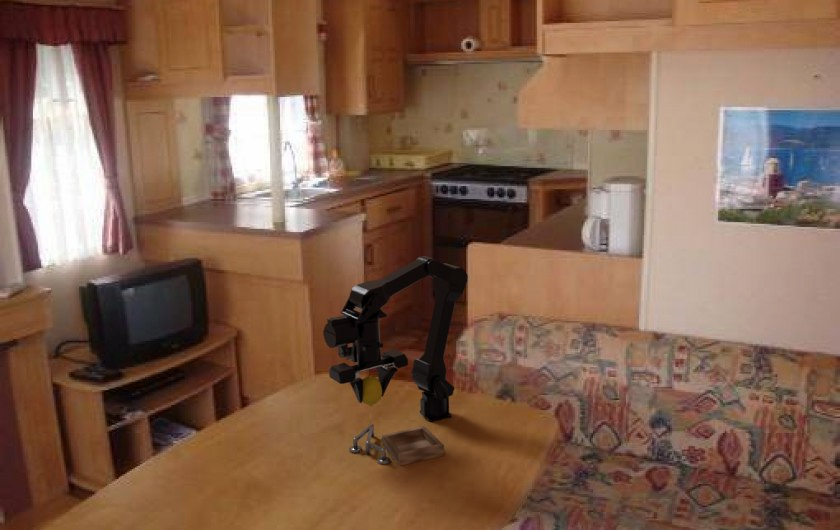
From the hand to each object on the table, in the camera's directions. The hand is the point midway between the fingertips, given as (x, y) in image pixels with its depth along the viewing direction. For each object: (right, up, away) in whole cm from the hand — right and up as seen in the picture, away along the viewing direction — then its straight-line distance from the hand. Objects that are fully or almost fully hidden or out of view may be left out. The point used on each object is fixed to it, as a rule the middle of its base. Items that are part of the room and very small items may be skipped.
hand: (370, 399), depth 189 cm
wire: (0, -11, -5) cm, 12 cm away
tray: (+10, -11, -5) cm, 16 cm away
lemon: (0, -2, 0) cm, 2 cm away
